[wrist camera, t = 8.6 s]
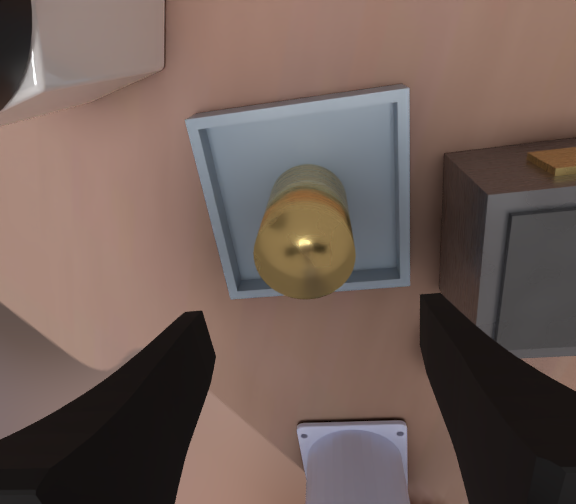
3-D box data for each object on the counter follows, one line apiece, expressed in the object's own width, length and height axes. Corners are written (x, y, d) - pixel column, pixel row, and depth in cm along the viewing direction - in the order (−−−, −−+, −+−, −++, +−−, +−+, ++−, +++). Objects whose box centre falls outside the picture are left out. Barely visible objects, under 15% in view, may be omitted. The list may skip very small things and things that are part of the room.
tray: (404, 269, 23) (409, 285, 21) (236, 282, 24) (230, 299, 23) (402, 83, 18) (409, 87, 17) (196, 113, 20) (184, 119, 18)
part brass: (346, 234, 21) (355, 298, 16) (273, 237, 22) (259, 300, 17) (346, 162, 20) (356, 207, 14) (266, 166, 20) (247, 211, 15)
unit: (625, 280, 22) (725, 360, 17) (438, 293, 23) (474, 371, 18) (672, 119, 18) (825, 155, 13) (444, 147, 19) (492, 189, 14)
